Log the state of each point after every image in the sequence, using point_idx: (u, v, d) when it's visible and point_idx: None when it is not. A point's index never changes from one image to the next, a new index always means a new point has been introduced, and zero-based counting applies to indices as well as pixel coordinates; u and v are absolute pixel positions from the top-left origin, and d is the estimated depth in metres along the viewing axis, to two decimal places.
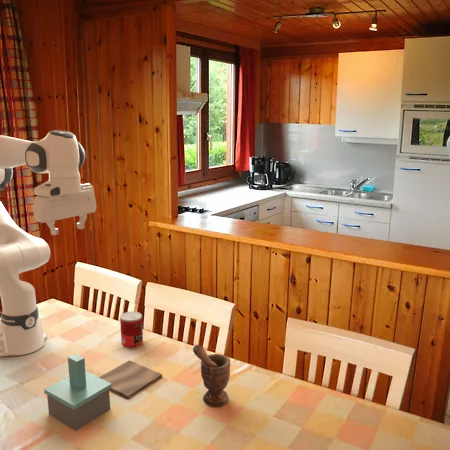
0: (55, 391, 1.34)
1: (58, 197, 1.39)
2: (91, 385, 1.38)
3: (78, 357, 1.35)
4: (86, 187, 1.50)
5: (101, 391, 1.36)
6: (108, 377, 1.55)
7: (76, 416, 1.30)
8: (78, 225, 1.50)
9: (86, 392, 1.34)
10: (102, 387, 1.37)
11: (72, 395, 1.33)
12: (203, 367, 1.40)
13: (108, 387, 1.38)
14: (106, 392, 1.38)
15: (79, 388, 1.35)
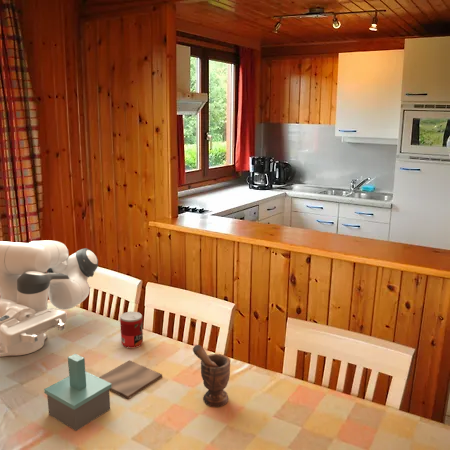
0: (55, 391, 1.34)
1: (11, 319, 1.43)
2: (91, 385, 1.38)
3: (78, 357, 1.35)
4: None
5: (101, 391, 1.36)
6: (108, 377, 1.55)
7: (76, 416, 1.30)
8: (59, 327, 1.45)
9: (86, 392, 1.34)
10: (102, 387, 1.37)
11: (72, 395, 1.33)
12: (203, 367, 1.40)
13: (108, 387, 1.38)
14: (106, 392, 1.38)
15: (79, 388, 1.35)
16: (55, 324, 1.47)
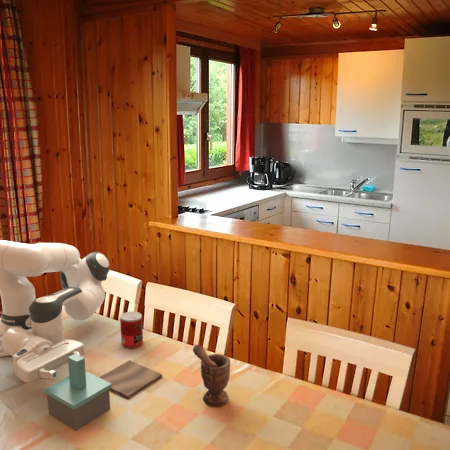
0: (55, 391, 1.34)
1: (29, 353, 1.42)
2: (91, 385, 1.38)
3: (78, 357, 1.35)
4: None
5: (101, 391, 1.36)
6: (108, 377, 1.55)
7: (76, 416, 1.30)
8: None
9: (86, 392, 1.34)
10: (102, 387, 1.37)
11: (72, 395, 1.33)
12: (203, 367, 1.40)
13: (108, 387, 1.38)
14: (106, 392, 1.38)
15: (79, 388, 1.35)
16: None
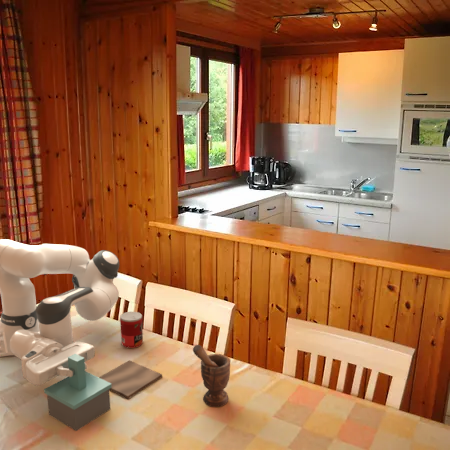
0: (55, 391, 1.34)
1: (38, 355, 1.37)
2: (91, 385, 1.38)
3: (78, 357, 1.35)
4: None
5: (101, 391, 1.36)
6: (108, 377, 1.55)
7: (76, 416, 1.30)
8: None
9: (86, 392, 1.34)
10: (102, 387, 1.37)
11: (72, 395, 1.33)
12: (203, 367, 1.40)
13: (108, 387, 1.38)
14: (106, 392, 1.38)
15: (79, 388, 1.35)
16: None
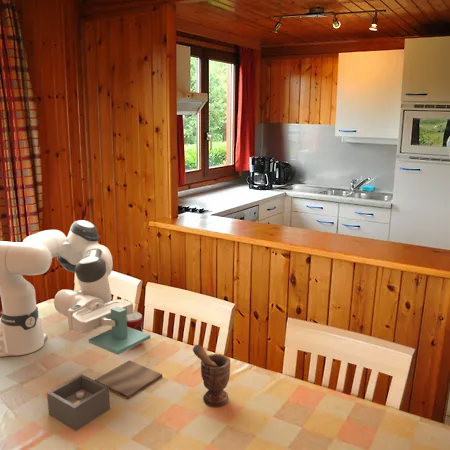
0: (99, 340, 1.45)
1: (83, 308, 1.48)
2: (132, 336, 1.48)
3: (120, 308, 1.46)
4: None
5: (141, 341, 1.46)
6: (108, 377, 1.55)
7: (76, 416, 1.30)
8: None
9: (128, 341, 1.44)
10: (142, 337, 1.47)
11: (115, 343, 1.43)
12: (203, 367, 1.40)
13: (147, 338, 1.48)
14: (106, 392, 1.38)
15: (121, 338, 1.45)
16: None
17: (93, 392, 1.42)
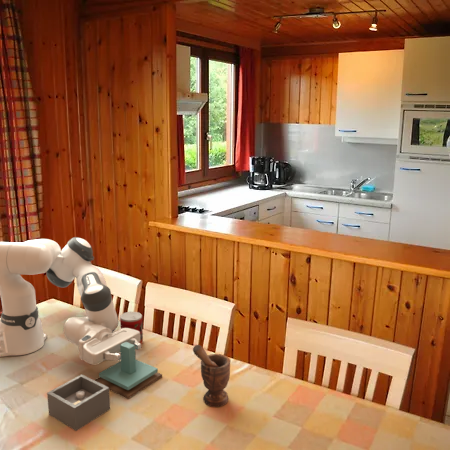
0: (109, 375, 1.52)
1: (93, 339, 1.55)
2: (140, 369, 1.55)
3: (129, 344, 1.53)
4: None
5: (149, 375, 1.53)
6: None
7: (76, 416, 1.30)
8: (135, 347, 1.56)
9: (137, 376, 1.52)
10: (150, 371, 1.54)
11: (125, 378, 1.50)
12: (203, 367, 1.40)
13: (155, 371, 1.55)
14: (106, 392, 1.38)
15: (130, 372, 1.53)
16: (131, 343, 1.59)
17: (93, 392, 1.42)
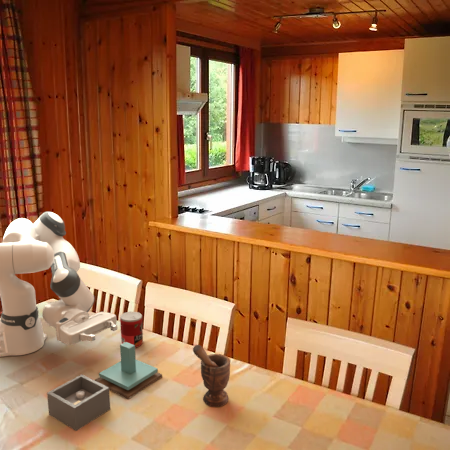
0: (109, 375, 1.52)
1: (70, 321, 1.61)
2: (140, 369, 1.55)
3: (129, 344, 1.53)
4: None
5: (149, 375, 1.53)
6: None
7: (76, 416, 1.30)
8: (111, 328, 1.63)
9: (137, 376, 1.52)
10: (150, 371, 1.54)
11: (125, 378, 1.50)
12: (203, 367, 1.40)
13: (155, 371, 1.55)
14: (106, 392, 1.38)
15: (130, 372, 1.53)
16: (107, 325, 1.66)
17: (93, 392, 1.42)
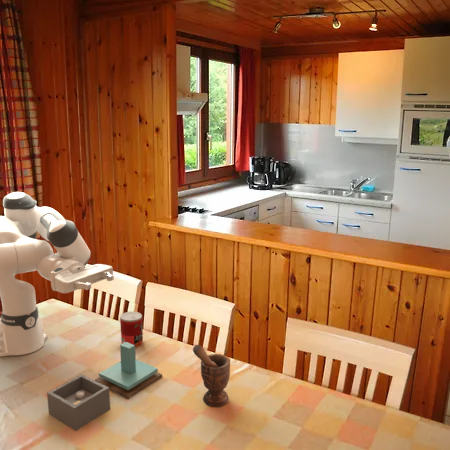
0: (109, 375, 1.52)
1: (65, 271, 1.57)
2: (140, 369, 1.55)
3: (129, 344, 1.53)
4: None
5: (149, 375, 1.53)
6: None
7: (76, 416, 1.30)
8: (108, 278, 1.59)
9: (137, 376, 1.52)
10: (150, 371, 1.54)
11: (125, 378, 1.50)
12: (203, 367, 1.40)
13: (155, 371, 1.55)
14: (106, 392, 1.38)
15: (130, 372, 1.53)
16: (103, 276, 1.62)
17: (93, 392, 1.42)
